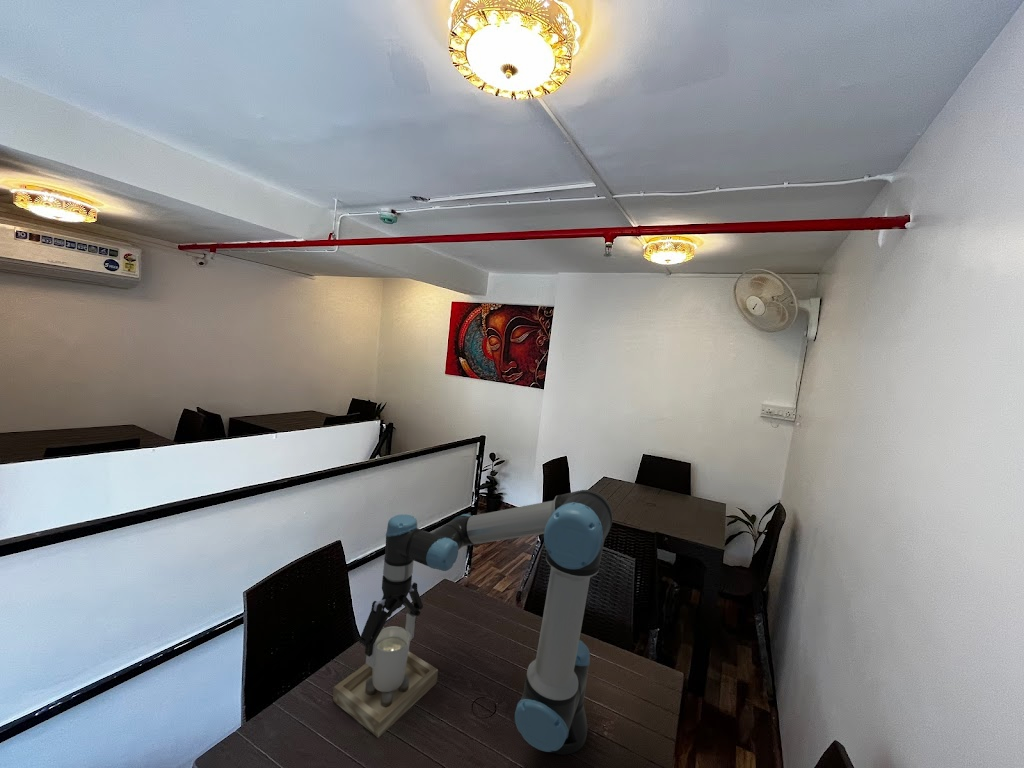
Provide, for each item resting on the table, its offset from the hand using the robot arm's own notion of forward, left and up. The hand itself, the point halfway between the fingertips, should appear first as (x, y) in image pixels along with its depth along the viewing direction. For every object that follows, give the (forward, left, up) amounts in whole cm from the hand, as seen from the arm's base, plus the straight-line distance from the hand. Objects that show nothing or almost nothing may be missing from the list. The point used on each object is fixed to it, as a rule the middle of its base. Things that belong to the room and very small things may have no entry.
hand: (390, 650), depth 113 cm
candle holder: (0, 0, -9) cm, 9 cm away
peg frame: (0, 0, -12) cm, 12 cm away
